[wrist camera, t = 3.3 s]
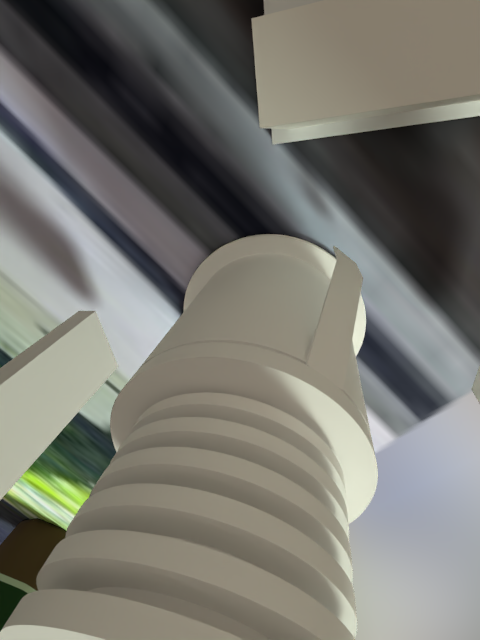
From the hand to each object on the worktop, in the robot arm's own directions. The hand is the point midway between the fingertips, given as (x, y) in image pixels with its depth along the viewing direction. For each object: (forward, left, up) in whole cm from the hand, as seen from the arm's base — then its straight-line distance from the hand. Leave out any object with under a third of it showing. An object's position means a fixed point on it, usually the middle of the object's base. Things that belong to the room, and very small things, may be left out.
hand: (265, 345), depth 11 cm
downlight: (0, 0, -2) cm, 2 cm away
